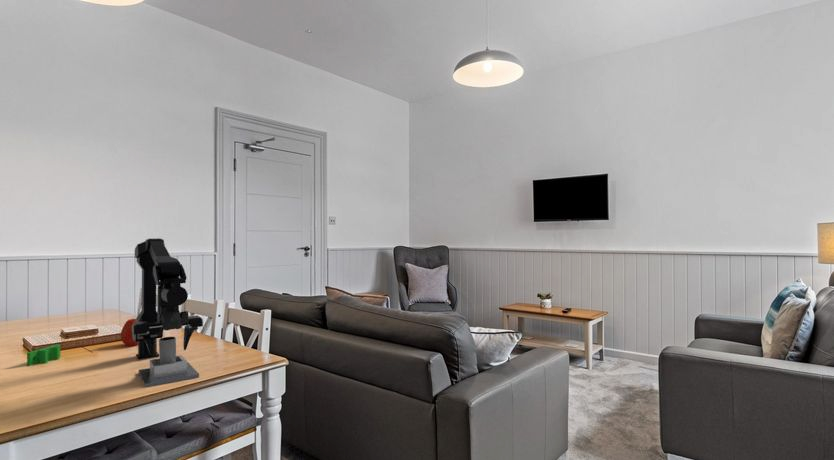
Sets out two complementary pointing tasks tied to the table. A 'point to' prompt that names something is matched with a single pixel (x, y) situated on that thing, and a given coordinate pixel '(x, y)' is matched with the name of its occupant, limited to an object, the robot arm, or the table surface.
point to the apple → (128, 333)
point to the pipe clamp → (43, 355)
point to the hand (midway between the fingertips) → (168, 352)
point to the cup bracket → (167, 372)
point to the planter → (167, 350)
